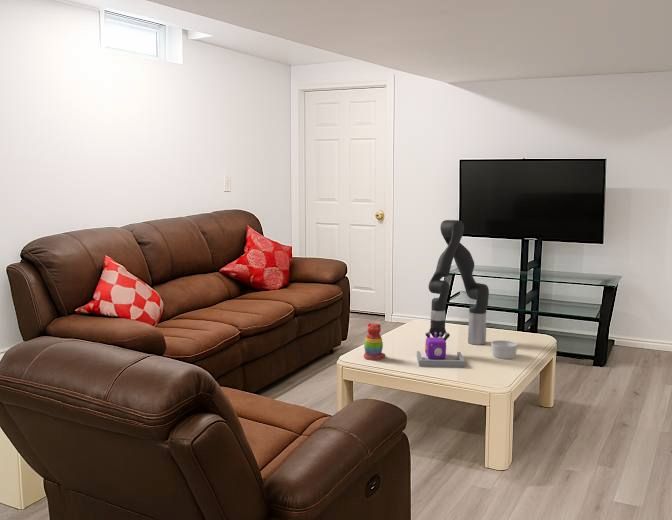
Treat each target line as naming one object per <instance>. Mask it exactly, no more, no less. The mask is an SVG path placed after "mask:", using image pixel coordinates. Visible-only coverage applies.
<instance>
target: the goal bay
mask: <svg viewBox="0 0 672 520" xmlns="http://www.w3.org/2000/svg"><path fill="white" fill-rule="evenodd" d="M456 357H457V359H456V360H455V359H423V357H422V353H421V351H419V350H418V351H416V360H417V363H418V366H419V367H435V368H436V367H437V368H465V366H466V365H465V364H466V361H465V358H464V357H463V354H462V353H461V352H460V351H457V354H456Z"/></svg>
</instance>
